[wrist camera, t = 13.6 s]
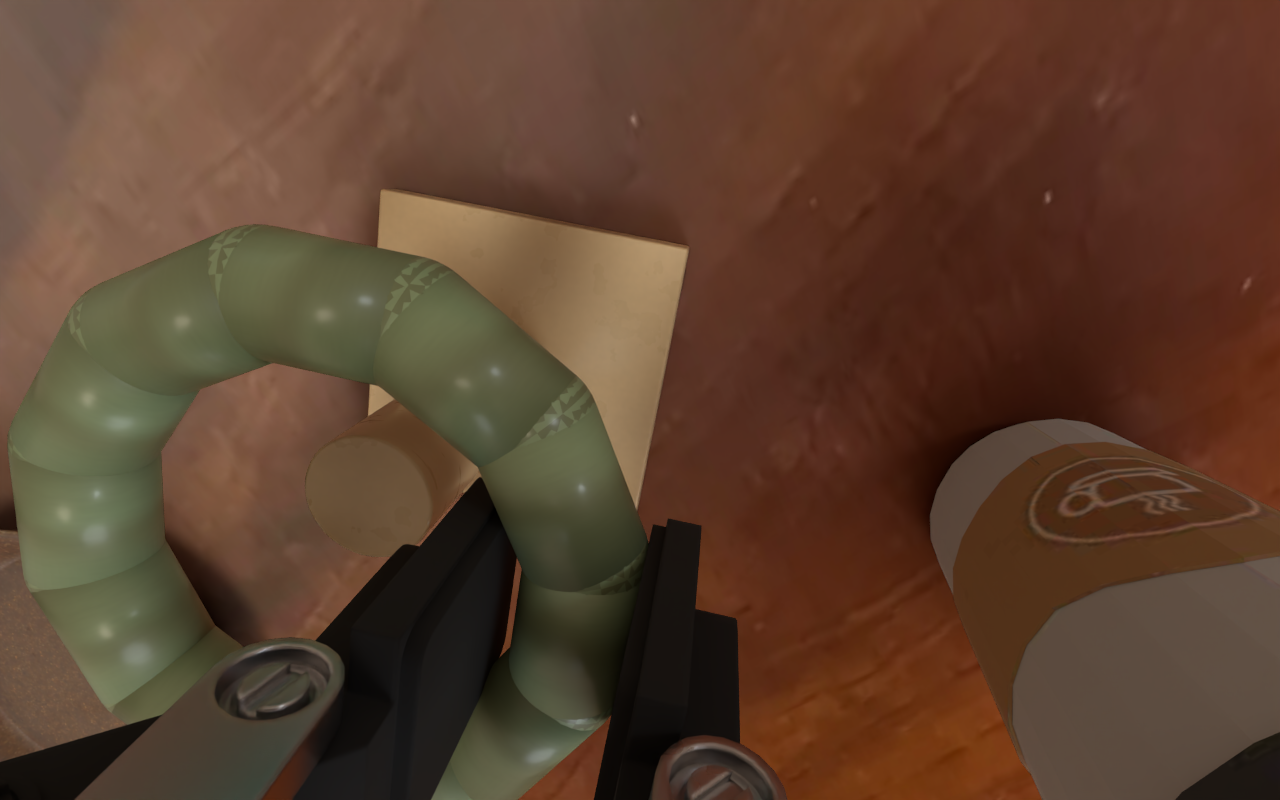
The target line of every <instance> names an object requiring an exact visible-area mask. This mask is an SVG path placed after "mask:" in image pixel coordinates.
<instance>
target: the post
mask: <svg viewBox="0 0 1280 800" xmlns="http://www.w3.org/2000/svg"><path fill="white" fill-rule="evenodd" d="M377 247H378V248H383V249H387V250H392V251H397V252H402V253H407V254H412V255H417V256H421V257H426V258H429V259H432V260H435V261H438V262H440V263H441V264H444V265H445V266H447V267H449V268H450V269H452V270H453V271H455V272H456V273H457V274H458V275H460V276H461V277H462V278H463V279H464V280H466V281H467V282H468V283H469V284H470V285H471V286H473V287H474V288H475V289H476V290H477V291H478V292H480V293H481V294H482V295H483V296H484V297H485V298H487V299H488V300H489V301H490V302H491V303H492V304H494V305H495V306H496V307H497V308H498V309H499V310H501V311H502V312H503V313H504V314H505V315H507V316H508V317H509V318H510V319H511V320H512V321H514V322H515V323H516V324H517V325H518V326H519V327H521V328H522V329H523V330H524V331H525V332H526V333H528V334H529V335H530V336H531V337H532V338H533V339H535V340H536V341H537V342H538V343H539V344H540V345H542V346H543V347H544V348H545V349H546V350H548V351H549V352H550V353H551V354H552V355H553V356H555V357H556V358H557V359H558V360H559V361H560V362H562V363H563V364H564V365H565V366H566V367H567V368H569V369H570V370H571V371H572V372H573V373H574V374H576V375H577V376H578V377H579V378H580V379H581V380H582V381H583V382H584V384H585V385H586V386H587V388H588V389H589V390H590V392H591V394H592V395H593V398H594V400H595V402H596V405H597V407H598V410H599V412H600V415H601V418H602V420H603V423H604V426H605V428H606V431H607V433H608V436H609V439H610V441H611V444H612V447H613V449H614V452H615V454H616V457H617V460H618V462H619V465H620V467H621V470H622V473H623V475H624V478H625V481H626V483H627V486H628V488H629V491H630V494H631V496H632V499H633V502H634V504H635V507H636V509H637V510H638V505H639V500H640V495H641V490H642V485H643V480H644V475H645V470H646V465H647V460H648V455H649V450H650V445H651V440H652V435H653V430H654V425H655V420H656V415H657V410H658V405H659V400H660V395H661V390H662V385H663V380H664V375H665V370H666V365H667V360H668V354H669V349H670V344H671V339H672V334H673V329H674V324H675V319H676V314H677V309H678V304H679V299H680V294H681V289H682V284H683V279H684V274H685V269H686V264H687V259H688V254H689V246H687V245H682V244H677V243H672V242H667V241H662V240H656V239H651V238H646V237H641V236H636V235H631V234H626V233H620V232H615V231H610V230H605V229H600V228H595V227H590V226H584V225H579V224H574V223H569V222H564V221H559V220H554V219H548V218H543V217H538V216H533V215H528V214H523V213H518V212H512V211H507V210H502V209H497V208H492V207H487V206H482V205H476V204H471V203H466V202H461V201H456V200H451V199H446V198H441V197H435V196H430V195H425V194H420V193H415V192H410V191H405V190H399V189H382V190H381V191H380V208H379V226H378V244H377ZM479 477H481V478H482V476H481V474H480V472H479V469H478V467H477V466H476V465H474V464H473V463H472V462H471V461H470V460H468V459H467V458H466V457H465V456H463V455H462V454H461V453H460V452H459V451H457V450H456V449H455V448H454V447H453V446H451V445H450V444H449V443H448V442H446V441H445V440H444V439H443V438H442V437H440V436H439V435H438V434H437V433H435V432H434V431H433V430H432V429H431V428H429V427H428V426H427V425H426V424H425V423H423V422H422V421H421V420H420V419H418V418H417V417H416V416H415V415H414V414H412V413H411V412H410V411H409V410H407V409H406V408H405V407H404V406H403V405H401V404H400V403H399V402H398V401H397V400H395V399H394V398H393V397H392V396H390V395H389V394H388V393H387V392H386V391H384V390H383V389H382V388H381V387H379V386H376V385H372V384H370V389H369V407H368V417H366V418H365V419H363V420H362V421H360V422H359V423H357V424H356V425H354V426H353V427H351V428H350V429H348V430H346V431H345V432H343V433H342V434H340V435H339V436H337V437H336V438H334V439H333V440H331V441H330V442H328V443H327V444H325V445H324V446H323V447H322V448H320V449H319V450H318V452H317V453H316V454H315V455H314V457H313V458H312V460H311V462H310V464H309V467H308V469H307V473H306V477H305V494H306V500H307V503H308V506H309V509H310V511H311V513H312V516H313V517H314V519H315V521H316V522H317V524H318V525H319V526H320V528H321V529H322V530H323V531H324V532H325V533H326V534H327V535H328V536H329V537H330V538H331V539H332V540H334V541H335V542H336V543H338V544H339V545H341V546H342V547H344V548H346V549H348V550H350V551H353V552H355V553H358V554H361V555H365V556H371V557H388V556H392V555H393V554H394V553H395V552H396V551H397V550H398V549H399V548H400V547H401V546H402V545H405V544H410V545H416V544H418V543H419V542H420V541H421V540H422V539H423V537H424V536H425V535H426V534H427V533H428V531H429V530H430V529H431V528H432V527H433V525H434V524H435V523H436V522H437V521H438V520H439V518H440V517H441V516H442V515H443V514H444V512H445V511H446V510H447V509H448V508H449V507H450V505H451V504H452V503H453V502H454V501H455V499H456V498H457V497H458V496H459V495H460V494H461V492H463V493H465V492H466V491H467V490H468V489H469V488H470V487H471V485H472V484H473V483H474V482H475V481H476V479H478V478H479Z"/></svg>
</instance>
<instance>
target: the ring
mask: <svg viewBox="0 0 1280 800" xmlns="http://www.w3.org/2000/svg"><path fill="white" fill-rule="evenodd" d="M272 363H277V364H281V365H286V366H290V367H295V368H299V369H304V370H308V371H313V372H317V373H322V374H326V375H331V376H335V377H340V378H344V379H349V380H354V381H358V382H363V383H367V384H372V385H376V386H379V387H381V388H382V389H383V390H384V391H386V392H387V393H388V394H389V395H390V396H392V397H393V398H394V399H395V400H397V401H398V402H399V403H400V404H401V405H403V406H404V407H405V408H406V409H407V410H409V411H410V412H411V413H412V414H414V415H415V416H416V417H417V418H418V419H420V420H421V421H422V422H423V423H425V424H426V425H427V426H428V427H429V428H431V429H432V430H433V431H434V432H435V433H437V434H438V435H439V436H440V437H442V438H443V439H444V440H445V441H446V442H448V443H449V444H450V445H451V446H453V447H454V448H455V449H456V450H457V451H459V452H460V453H461V454H462V455H463V456H465V457H466V458H467V459H468V460H470V461H471V462H472V463H473V464H474V465H476V466H477V467H478V469H479V472H480V474H481V476H482V479H483V481H484V483H485V485H486V488H487V490H488V492H489V495H490V497H491V499H492V501H493V504H494V506H495V508H496V511H497V513H498V515H499V517H500V520H501V522H502V524H503V527H504V529H505V531H506V533H507V536H508V538H509V540H510V543H511V545H512V547H513V549H514V552H515V554H516V556H517V559H518V561H519V563H520V565H521V568H522V571H521V578H520V585H519V592H518V599H517V606H516V613H515V619H514V626H513V633H512V640H511V647H510V648H509V649H508V650H507V651H506V652H505V653H504V654H503V655H502V656H501V657H500V658H499V659H498V660H497V661H496V662H495V663H494V664H493V666H492V668H491V670H490V672H489V674H488V677H487V680H486V682H485V685H484V688H483V692H482V695H481V697H480V699H479V701H478V703H477V705H476V707H475V709H474V711H473V713H472V715H471V718H470V720H469V722H468V724H467V726H466V728H465V730H464V732H463V734H462V736H461V738H460V740H459V743H458V745H457V747H456V749H455V751H454V753H453V755H452V757H451V759H450V761H449V763H448V765H447V768H446V770H445V772H444V774H443V776H442V778H441V780H440V782H439V784H438V786H437V788H436V790H435V793H434V795H433V797H432V799H431V800H518V799H519V798H520V797H521V796H522V795H524V794H525V793H526V792H527V791H528V790H529V789H530V788H531V787H533V786H534V785H535V784H536V783H537V782H538V781H539V780H540V779H542V778H543V777H544V776H545V775H546V774H547V773H548V772H549V771H551V770H552V769H553V768H554V767H555V766H556V765H557V764H559V763H560V762H561V761H562V760H563V759H564V758H565V757H566V756H568V755H569V754H570V753H571V752H572V751H573V750H574V749H575V748H577V747H578V746H579V745H580V744H581V743H582V742H583V741H584V740H586V739H587V738H588V737H589V736H590V735H591V734H592V733H593V732H595V731H596V730H597V729H598V728H599V727H600V726H601V725H602V724H604V722H605V721H606V720H608V718H609V717H610V716H611V714H612V710H613V706H614V701H615V696H616V691H617V687H618V682H619V677H620V673H621V668H622V664H623V659H624V655H625V650H626V646H627V641H628V636H629V632H630V627H631V623H632V618H633V614H634V609H635V605H636V600H637V596H638V591H639V586H640V582H641V577H642V573H643V568H644V564H645V559H646V555H647V550H648V546H649V543H648V540H647V536H646V533H645V530H644V528H643V525H642V523H641V520H640V517H639V515H638V512H637V509H636V507H635V504H634V502H633V499H632V496H631V494H630V491H629V488H628V486H627V483H626V481H625V478H624V475H623V473H622V470H621V467H620V465H619V462H618V460H617V457H616V454H615V452H614V449H613V447H612V444H611V441H610V439H609V436H608V433H607V431H606V428H605V426H604V423H603V420H602V418H601V415H600V412H599V410H598V407H597V405H596V402H595V400H594V398H593V395H592V394H591V392H590V390H589V389H588V388H587V386H586V385H585V384H584V382H583V381H582V380H581V379H580V378H579V377H578V376H577V375H576V374H574V373H573V372H572V371H571V370H570V369H569V368H567V367H566V366H565V365H564V364H563V363H562V362H560V361H559V360H558V359H557V358H556V357H555V356H553V355H552V354H551V353H550V352H549V351H548V350H546V349H545V348H544V347H543V346H542V345H540V344H539V343H538V342H537V341H536V340H535V339H533V338H532V337H531V336H530V335H529V334H528V333H526V332H525V331H524V330H523V329H522V328H521V327H519V326H518V325H517V324H516V323H515V322H514V321H512V320H511V319H510V318H509V317H508V316H507V315H505V314H504V313H503V312H502V311H501V310H499V309H498V308H497V307H496V306H495V305H494V304H492V303H491V302H490V301H489V300H488V299H487V298H485V297H484V296H483V295H482V294H481V293H480V292H478V291H477V290H476V289H475V288H474V287H473V286H471V285H470V284H469V283H468V282H467V281H466V280H464V279H463V278H462V277H461V276H460V275H458V274H457V273H456V272H455V271H453V270H452V269H450V268H449V267H447V266H445V265H444V264H441V263H440V262H438V261H435V260H432V259H429V258H426V257H421V256H417V255H412V254H407V253H402V252H397V251H392V250H387V249H383V248H378V247H373V246H368V245H363V244H358V243H353V242H349V241H344V240H339V239H334V238H329V237H324V236H320V235H315V234H310V233H305V232H300V231H295V230H290V229H286V228H281V227H276V226H269V225H256V224H253V225H244V226H239V227H234V228H231V229H228V230H225V231H223V232H221V233H219V234H216V235H214V236H211V237H209V238H207V239H204V240H202V241H200V242H197V243H195V244H192V245H190V246H188V247H185V248H183V249H181V250H178V251H176V252H173V253H171V254H169V255H166V256H164V257H162V258H159V259H157V260H154V261H152V262H150V263H147V264H145V265H143V266H140V267H138V268H135V269H133V270H131V271H128V272H126V273H123V274H121V275H119V276H116V277H114V278H112V279H109V280H107V281H104V282H102V283H100V284H98V285H96V286H94V287H93V288H91V289H89V290H88V291H87V292H85V293H84V294H83V295H82V296H81V297H80V298H79V299H78V300H77V301H76V303H75V304H74V305H73V306H72V308H71V310H70V311H69V313H68V315H67V317H66V319H65V321H64V323H63V324H62V326H61V328H60V330H59V332H58V334H57V336H56V338H55V340H54V342H53V344H52V346H51V348H50V349H49V351H48V353H47V355H46V357H45V359H44V361H43V363H42V365H41V367H40V369H39V371H38V373H37V374H36V376H35V378H34V380H33V382H32V384H31V386H30V388H29V390H28V392H27V394H26V396H25V398H24V399H23V401H22V403H21V405H20V407H19V409H18V411H17V413H16V415H15V417H14V419H13V421H12V423H11V426H10V429H9V432H8V444H7V447H8V457H9V465H10V473H11V481H12V489H13V497H14V505H15V513H16V521H17V529H18V537H19V545H20V553H21V561H22V569H23V575H24V580H25V583H26V586H27V587H28V589H29V591H30V593H31V594H32V596H33V597H34V599H35V600H36V602H37V604H38V605H39V607H40V608H41V610H42V611H43V613H44V614H45V616H46V617H47V619H48V621H49V622H50V624H51V625H52V627H53V628H54V630H55V631H56V633H57V635H58V636H59V638H60V639H61V641H62V642H63V644H64V645H65V647H66V648H67V650H68V652H69V653H70V655H71V656H72V658H73V659H74V661H75V662H76V664H77V666H78V667H79V669H80V670H81V672H82V673H83V675H84V676H85V678H86V679H87V681H88V683H89V684H90V686H91V687H92V689H93V690H94V692H95V693H96V695H97V696H98V698H99V700H100V701H101V703H102V704H103V705H104V707H105V708H106V709H107V710H108V711H110V712H111V713H112V714H113V715H114V716H116V717H117V718H119V719H120V720H121V721H123V722H124V723H125V724H127V725H128V724H132V723H135V722H139V721H142V720H145V719H149V718H152V717H156V716H159V715H162V714H164V713H165V712H166V711H167V710H168V709H169V708H170V707H171V706H172V705H173V704H174V703H175V702H176V701H177V700H178V699H179V698H180V697H181V696H182V695H183V694H184V693H185V692H186V691H187V690H189V689H190V688H191V687H192V686H193V685H194V684H195V683H196V682H197V681H198V680H199V679H200V678H201V677H202V676H203V675H204V674H205V673H206V672H207V671H208V670H209V669H210V668H211V667H212V666H214V665H215V664H216V663H218V662H219V661H220V660H222V659H223V658H224V657H226V656H227V655H228V654H230V653H232V652H234V651H237V650H239V649H241V648H243V646H242V645H241V644H239V643H238V642H237V641H235V640H234V639H233V638H231V637H230V636H229V635H227V634H226V633H225V632H223V631H222V630H221V629H219V628H218V627H217V626H215V624H214V623H213V621H212V619H211V617H210V616H209V614H208V612H207V610H206V609H205V607H204V605H203V604H202V602H201V600H200V598H199V597H198V595H197V593H196V591H195V590H194V588H193V586H192V584H191V583H190V581H189V579H188V578H187V576H186V574H185V572H184V571H183V569H182V567H181V565H180V564H179V562H178V560H177V558H176V557H175V555H174V553H173V552H172V550H171V548H170V546H169V545H168V543H167V541H166V539H165V524H164V503H163V481H162V459H161V451H162V449H163V448H164V446H165V444H166V443H167V441H168V440H169V438H170V437H171V435H172V433H173V432H174V430H175V429H176V427H177V425H178V424H179V422H180V421H181V419H182V417H183V416H184V414H185V413H186V411H187V410H188V408H189V406H190V405H191V403H192V402H193V400H194V398H195V397H196V395H197V394H198V392H199V390H200V389H202V388H205V387H208V386H211V385H213V384H216V383H219V382H222V381H224V380H227V379H230V378H233V377H235V376H238V375H241V374H244V373H247V372H249V371H252V370H255V369H258V368H260V367H263V366H266V365H269V364H272Z"/></svg>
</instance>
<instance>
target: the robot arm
mask: <svg viewBox="0 0 1280 800" xmlns="http://www.w3.org/2000/svg"><path fill="white" fill-rule="evenodd" d="M700 540H701V526H700V525H696V524H691V523H687V522H682V521H677V520H673V519H668V521H667V525H666V527H663V526H658V525H654V524H653V527H652V532H651V537H650V541H649V546H648V550H647V555H646V559H645V564H644V568H643V573H642V577H641V582H640V586H639V591H638V596H637V600H636V605H635V609H634V614H633V618H632V623H631V627H630V632H629V636H628V641H627V646H626V650H625V655H624V659H623V664H622V668H621V673H620V677H619V682H618V687H617V691H616V696H615V701H614V706H613V710H612V715H611V720H610V725H609V730H608V734H607V739H606V744H605V749H604V754H603V758H602V763H601V768H600V773H599V778H598V783H597V787H596V792H595V797H594V800H787V797H786V793H785V789H784V787H783V785H782V783H781V782H780V780H779V778H778V777H777V775H776V773H775V771H774V770H773V769H772V768H771V767H770V766H769V765H768V764H767V763H766V762H765V761H764V760H763V759H762V758H761V757H760V756H759V755H757V754H756V753H754V752H753V751H751V750H750V749H748V748H747V747H745V746H744V745H742V744H740V722H739V676H738V630H737V620H736V619H735V618H732V617H728V616H723V615H719V614H714V613H710V612H706V611H701V610H697V609H695V605H696V592H697V579H698V566H699V553H700ZM516 559H517V556H516V554H515V552H514V549H513V547H512V545H511V543H510V540H509V538H508V536H507V533H506V531H505V529H504V527H503V524H502V522H501V520H500V517H499V515H498V513H497V511H496V508H495V506H494V504H493V501H492V499H491V497H490V495H489V492H488V490H487V488H486V485H485V483H484V481H483V479H482V478H481V477H479V478H478V479H476V481H475V482H474V483H473V484H472V485H471V487H470V488H469V489H468V490H467V491H466V492H465V494H464V495H463V496H462V497H461V498H460V500H459V501H458V502H457V503H456V504H455V505H454V507H453V508H452V509H451V510H450V511H449V512H448V514H447V515H446V516H445V517H444V518H443V520H442V521H441V522H440V523H439V524H438V525H437V527H436V528H435V529H434V530H433V531H432V533H431V534H430V535H429V536H428V537H427V538H426V540H425V541H424V542H423V543H422V544H421V546H420V547H419V546H415V545H410V544H405V545H402V546H401V547H400V548H399V549H398V550H397V551H396V552H395V553H394V554H393V555H392V556H391V557H390V558H389V560H388V561H387V562H386V563H385V564H384V565H383V566H382V567H381V568H380V570H379V571H378V572H377V573H376V574H375V575H374V576H373V577H372V578H371V580H370V581H369V582H368V583H367V584H366V585H365V586H364V587H363V588H362V589H361V591H360V592H359V593H358V594H357V595H356V596H355V597H354V598H353V599H352V601H351V602H350V603H349V604H348V605H347V606H346V607H345V608H344V609H343V611H342V612H341V613H340V614H339V615H338V616H337V617H336V618H335V619H334V621H333V622H332V623H331V624H330V625H329V626H328V627H327V628H326V629H325V631H324V632H323V633H322V634H321V635H320V636H319V637H318V638H317V639H316V641H314V640H311V639H303V638H293V637H289V638H277V639H269V640H265V641H261V642H257V643H254V644H250V645H247V646H245V647H243V648H241V649H239V650H237V651H234V652H232V653H230V654H228V655H227V656H226V657H224V658H223V659H222V660H220V661H219V662H218V663H216V664H215V665H214V666H212V667H211V668H210V669H209V670H208V671H207V672H206V673H205V674H204V675H203V676H202V677H201V678H200V679H199V680H198V681H197V682H196V683H195V684H194V685H193V686H192V687H191V688H190V689H189V690H187V691H186V692H185V693H184V694H183V695H182V696H181V697H180V698H179V699H178V700H177V701H176V702H175V703H174V704H173V705H172V706H171V707H170V708H169V709H168V710H167V711H166V712H165V713H164V714H162V715H159V716H156V717H152V718H149V719H145V720H142V721H139V722H135V723H132V724H128V725H125V726H121V727H118V728H115V729H111V730H108V731H104V732H101V733H98V734H94V735H91V736H87V737H84V738H80V739H77V740H74V741H70V742H67V743H63V744H60V745H56V746H53V747H50V748H46V749H43V750H39V751H36V752H33V753H29V754H26V755H22V756H19V757H15V758H12V759H9V760H5V761H2V762H0V800H431V799H432V797H433V795H434V793H435V790H436V788H437V786H438V784H439V782H440V780H441V778H442V776H443V774H444V772H445V770H446V768H447V765H448V763H449V761H450V759H451V757H452V755H453V753H454V751H455V749H456V747H457V745H458V743H459V740H460V738H461V736H462V734H463V732H464V730H465V728H466V726H467V724H468V722H469V720H470V718H471V715H472V713H473V711H474V709H475V707H476V705H477V703H478V701H479V699H480V697H481V695H482V692H483V688H484V685H485V682H486V680H487V677H488V674H489V672H490V670H491V668H492V666H493V664H494V663H495V662H496V661H497V660H498V659H499V657H500V654H501V652H502V649H503V645H504V641H505V637H506V631H507V624H508V616H509V609H510V602H511V595H512V588H513V580H514V573H515V566H516Z"/></svg>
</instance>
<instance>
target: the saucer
mask: <svg viewBox="0 0 1280 800" xmlns="http://www.w3.org/2000/svg"><path fill="white" fill-rule="evenodd" d="M125 725H127V724H125V723H124V722H123V721H121V720H120V719H119V718H117V717H116V716H114V715H113V714H112V713H111V712H110V711H108V710H107V709H106V708H105V707H104V705H103V704H102V703H101V701H100V700H99V698H98V696H97V695H96V693H95V692H94V690H93V689H92V687H91V686H90V684H89V683H88V681H87V679H86V678H85V676H84V675H83V673H82V672H81V670H80V669H79V667H78V666H77V664H76V662H75V661H74V659H73V658H72V656H71V655H70V653H69V652H68V650H67V648H66V647H65V645H64V644H63V642H62V641H61V639H60V638H59V636H58V635H57V633H56V631H55V630H54V628H53V627H52V625H51V624H50V622H49V621H48V619H47V617H46V616H45V614H44V613H43V611H42V610H41V608H40V607H39V605H38V604H37V602H36V600H35V599H34V597H33V596H32V594H31V593H30V591H29V589H28V587H27V586H26V583H25V580H24V575H23V569H22V561H21V553H20V545H19V537H18V530H5V529H0V762H2V761H5V760H9V759H12V758H15V757H19V756H22V755H26V754H29V753H33V752H36V751H39V750H43V749H46V748H50V747H53V746H56V745H60V744H63V743H67V742H70V741H74V740H77V739H80V738H84V737H87V736H91V735H94V734H98V733H101V732H104V731H108V730H111V729H115V728H118V727H121V726H125Z"/></svg>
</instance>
